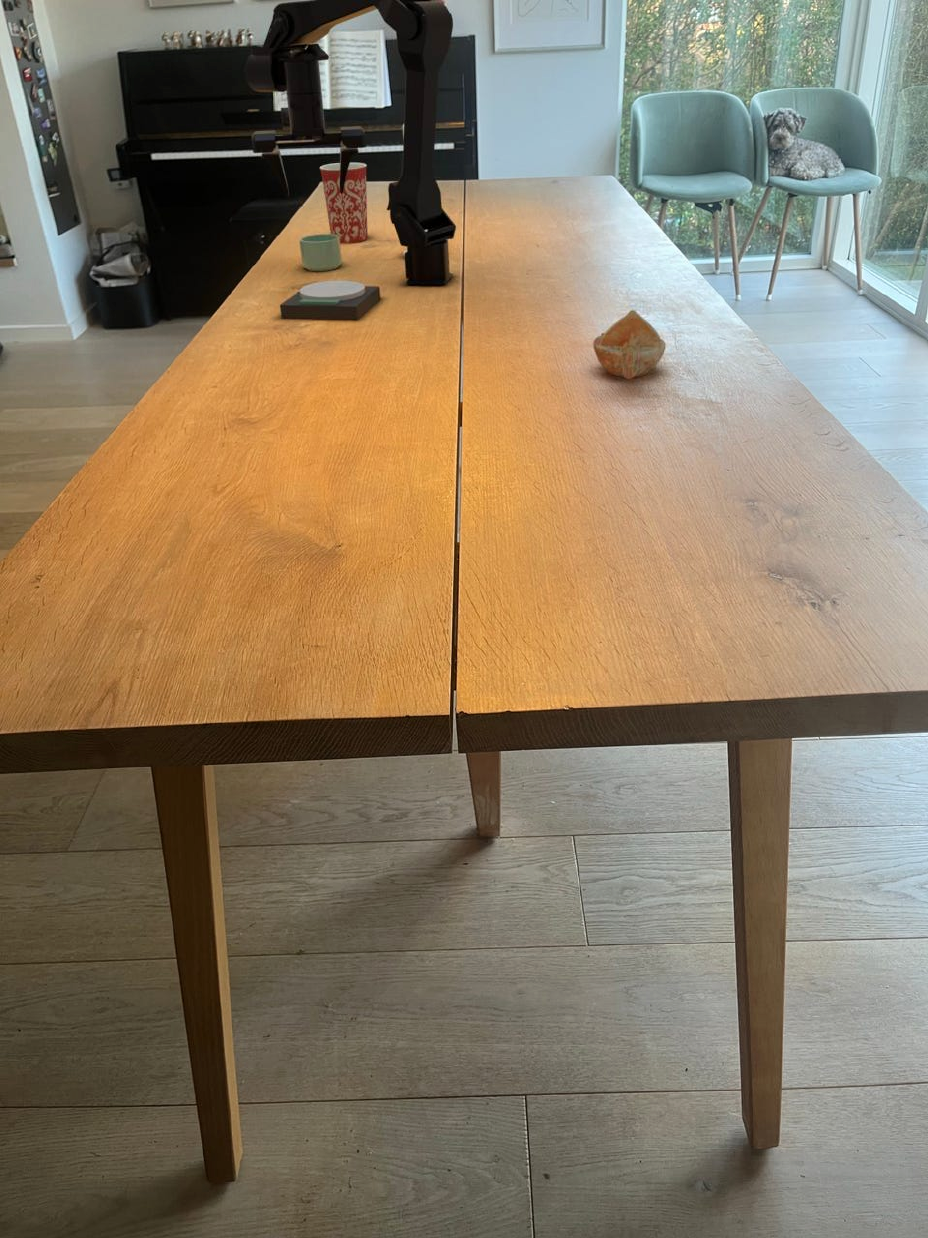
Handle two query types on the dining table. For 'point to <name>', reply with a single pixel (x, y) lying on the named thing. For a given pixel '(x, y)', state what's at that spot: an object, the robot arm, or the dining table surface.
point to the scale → (331, 301)
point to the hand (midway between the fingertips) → (314, 194)
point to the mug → (346, 202)
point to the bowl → (320, 252)
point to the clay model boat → (629, 347)
